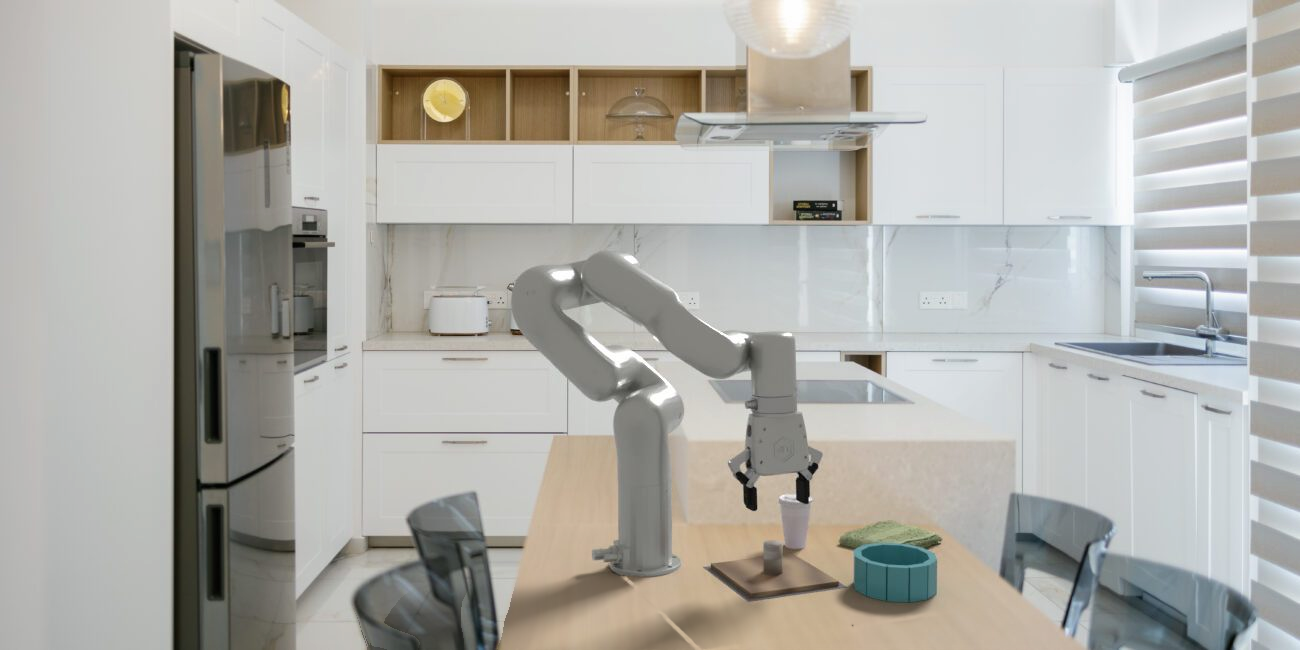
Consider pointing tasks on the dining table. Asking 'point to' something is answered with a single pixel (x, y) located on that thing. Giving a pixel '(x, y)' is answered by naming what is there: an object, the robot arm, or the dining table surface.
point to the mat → (767, 596)
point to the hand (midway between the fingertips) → (777, 505)
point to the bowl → (895, 572)
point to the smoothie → (795, 520)
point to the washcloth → (889, 535)
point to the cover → (773, 573)
